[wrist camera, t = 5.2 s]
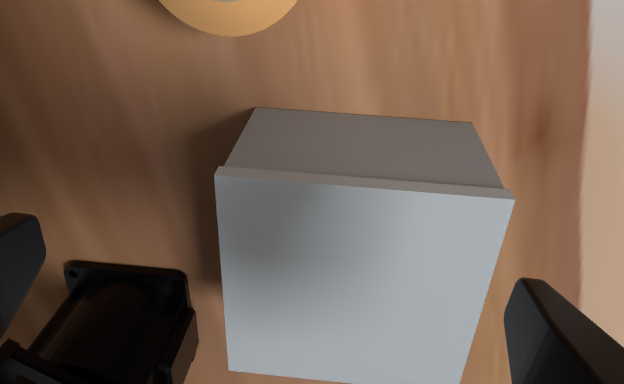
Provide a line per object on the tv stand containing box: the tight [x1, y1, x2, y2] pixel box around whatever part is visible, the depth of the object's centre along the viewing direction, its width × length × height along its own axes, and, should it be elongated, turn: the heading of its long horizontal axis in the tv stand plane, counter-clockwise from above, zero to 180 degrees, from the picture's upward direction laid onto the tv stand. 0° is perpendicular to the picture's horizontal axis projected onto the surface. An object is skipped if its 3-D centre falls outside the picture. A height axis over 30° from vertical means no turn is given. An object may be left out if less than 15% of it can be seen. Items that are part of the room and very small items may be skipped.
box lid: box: [214, 166, 515, 384], centre depth 18 cm, size 9×9×1 cm
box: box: [224, 107, 505, 189], centre depth 20 cm, size 9×9×6 cm
